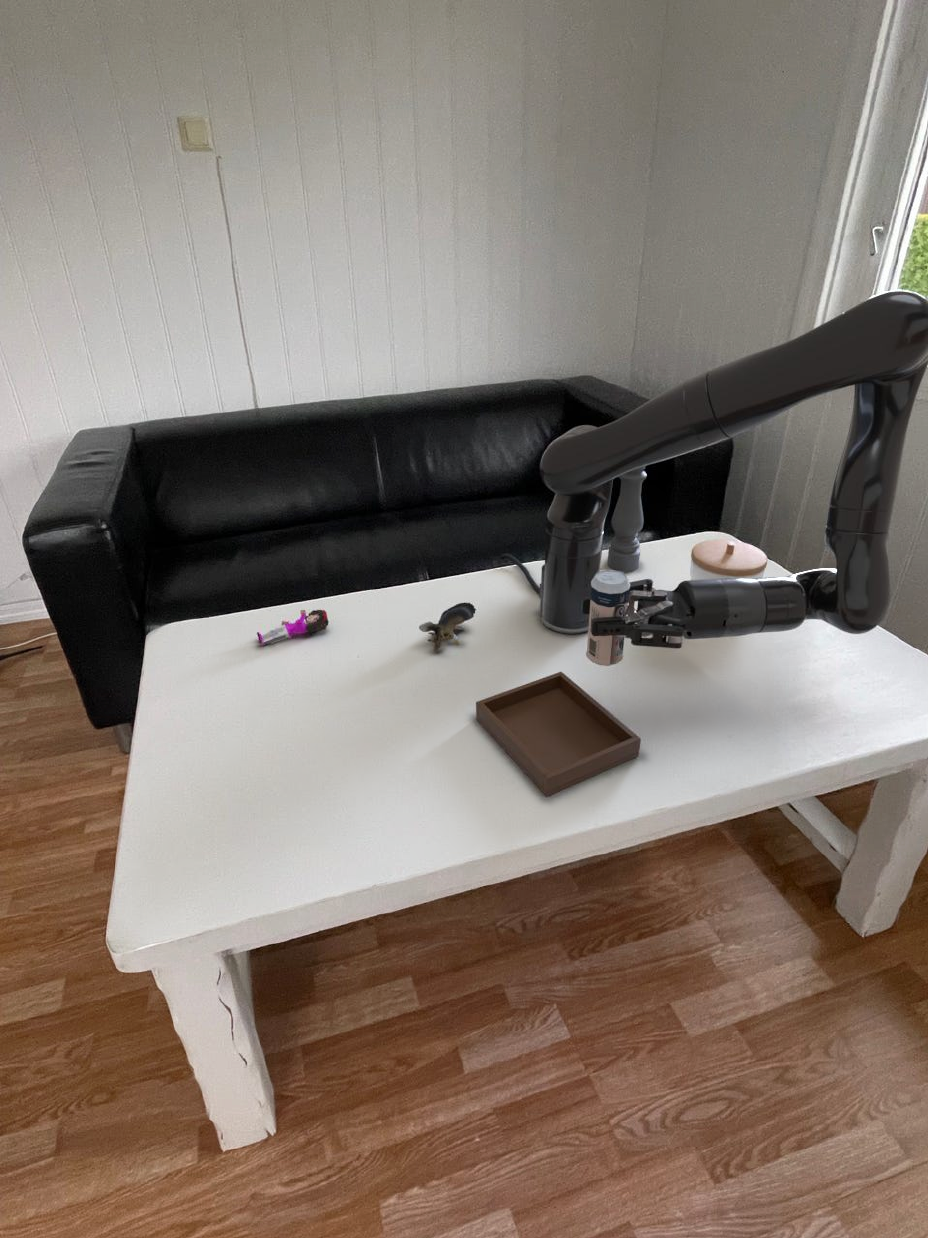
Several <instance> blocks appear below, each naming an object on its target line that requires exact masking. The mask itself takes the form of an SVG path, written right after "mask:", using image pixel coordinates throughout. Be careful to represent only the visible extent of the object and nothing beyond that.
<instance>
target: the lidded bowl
mask: <svg viewBox="0 0 928 1238" xmlns="http://www.w3.org/2000/svg"><path fill="white" fill-rule="evenodd" d="M690 558H691V559H690V566H689V577H690V578H689V579H690V580H705V579H721V578H746V579H754V578H764V574H765V571H766V568H767V565H768V556H767V554H766V553H765V552H764V551H763V550H761V549H760V548H758V547H756V546H754V545H752V544H750V543H746V542H743V541H737V540H731V539H708V540H705V541H701V542H698V543H696V544H695V545H694V546H693V547H692V550H691V554H690Z"/></svg>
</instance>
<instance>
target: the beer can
mask: <svg viewBox="0 0 928 1238" xmlns="http://www.w3.org/2000/svg"><path fill="white" fill-rule="evenodd" d="M630 582H631V581H630V580H629V577H628V575H626V574H625V572H620V571H615V570H612V569H603V570H600V572H598V573H596V575H595V576H594V578H593V579H592V581H591V586H592V587H591V601H590V615H589V630H588V631H587V632H588V633H587V646H586V647H587V648H586V653H585V656H586V658H587V659H588V660H589V661H590V662H591V663H593V664H595V665H599V666H603V667H605V666H606V667H609V666H614V665H617V664H619V663H620V662H622V660H623V658H624V647H625V646H624V645H625V638H624V637H623V636H622V635H612V636H610V635H609V636H593V635H592V633H591V631H590V630H591V620H592V619H594V618H605V617H620V616H621V617H622V619H623V620H624V617H626V616H628V615H627V608H628V605H629V603H628V598H629V589H630Z"/></svg>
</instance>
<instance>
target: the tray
mask: <svg viewBox="0 0 928 1238" xmlns="http://www.w3.org/2000/svg"><path fill="white" fill-rule="evenodd" d="M475 719H476V720H477V721H478V723H479V724H480V725H481V726H482V727H483V728H484V729H485V730H486V731H487V733H488V734H489V735H490V736H491V737H492V738H493V740H495V742H497V744H498V745H499V746H500V747H501V748H502V749H503V750H504V751H505V752H506V753H507V755H508V756H509V757H510V758H511V759H512V760H513V761H514V762H515V764H517V766H518V767H519V768H520V769H521V770H522V771H523V773H524V774H526V775H527V776H528V778H529V779H530V781H532V782H533V783H534V784H535V786H536V787H537V788H538V789H539V790H540V791H541V792H542V793H543V794H544V795H545V797H549V796H552V795H555V794H556V793H558V792H561V791H563V790H565V789H567V788H570V787H572V786H575V785H576V784H579V783H581V782H583V781H585V780H588V779H591V778H593V777H595V776H597V775H600V774H601V773H604V772H606V771H608V770H610V769H613V768H615V767H618V766H620V765H622V764H623V763H626V762H629V761H631V760H633V759H635V758H638V757H639V756H640V749H641V742H642V738H641V737H640V736H639V735H637V734H636V732H634V731H632V730H631V729H630V728H629V726H626V724H624V723H623V722H622V721H621V720H620V719H618V718H617V717H616V716H615V715H614V714H612V713H611V712H610V711H609V710H608V709H607V708H605V707H604V706H603V705H602V704H600V702H598V701H597V700H596V699H594V697H593V696H591V695H590V694H589V693H588V692H587V691H585V689H583V688H581V686H579V685H578V684H577V683H575V682H574V681H573V680H572V679H571V678H570V677H568V676H567V675H566V674H565V673H564V672H562V671H558V672H556V673H553V674H550V675H548V676H547V675H546V676H544V677H542V678H538V679H536V680H533V681H531V682H527V683H525V684H521V685H520V686H516V687H514V688H510V689H508V690H505V691H503V692H500V693H497V694H494V695H491V696H489V697H486V698H483V699H479V700H477V701H475Z"/></svg>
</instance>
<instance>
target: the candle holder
mask: <svg viewBox="0 0 928 1238" xmlns="http://www.w3.org/2000/svg"><path fill="white" fill-rule="evenodd" d="M646 466H648V465H646ZM646 466H642V467H639V468H636V469H634V470H631V471H629V472H626V473H624V474H622V475H620V476H618V477H617V478H619V479H620V490H619V496H618V499H617V501H616V505H615V508H614V511H613V515H612V516H611V523H610V524H611V527H612V529H613V531H614V536H613V538H612V539H611V540H610V544H609V545H610V546H609V547H608V553H607V563H606V564H607V565H606V566H607V567H608V569H609V570H615V571H620V572H622V573H631V572H635V571H636V570H638V569H639V566H640V556H641V549H640V546H641V545H640V544H641V543H640V541H639V539H638V538H637V537H638V535H639V533H640V532H641V530H642V529H643V527H644V523H645V521H644V511H643V505H642V495H641V494H642V486H643V485H642V484H643V482H644V481H645V480H646V479H647V477H648V475H647V473H646V471H645V469H646Z"/></svg>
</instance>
